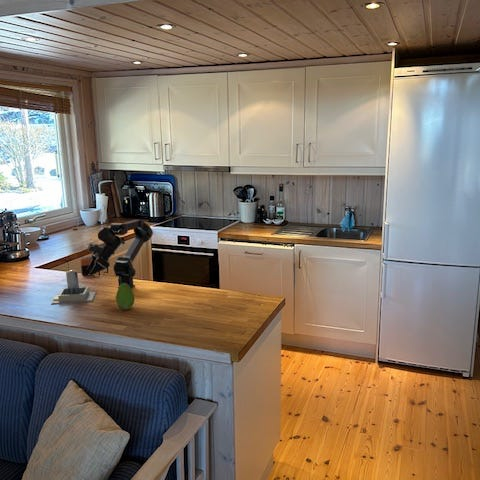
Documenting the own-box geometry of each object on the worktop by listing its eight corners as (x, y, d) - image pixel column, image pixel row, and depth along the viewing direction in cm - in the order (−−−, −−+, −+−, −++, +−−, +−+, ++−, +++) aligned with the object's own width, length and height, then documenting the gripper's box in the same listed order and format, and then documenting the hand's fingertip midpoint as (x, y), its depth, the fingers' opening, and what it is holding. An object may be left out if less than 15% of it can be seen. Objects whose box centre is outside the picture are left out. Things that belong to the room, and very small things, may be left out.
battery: (95, 274, 267) (93, 256, 265) (82, 275, 264) (80, 258, 262) (94, 272, 271) (92, 255, 269) (81, 273, 268) (80, 256, 266)
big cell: (80, 295, 229) (78, 268, 226) (78, 298, 224) (76, 271, 221) (69, 295, 228) (67, 269, 226) (67, 299, 223) (64, 272, 221)
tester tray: (95, 292, 234) (95, 285, 233) (92, 301, 221) (91, 294, 221) (57, 295, 231) (56, 288, 231) (51, 304, 219) (50, 296, 218)
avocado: (125, 313, 205) (123, 286, 203) (112, 310, 209) (110, 283, 207) (139, 307, 212) (137, 281, 209) (126, 304, 216) (124, 279, 213)
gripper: (94, 233, 234) (73, 258, 232) (99, 240, 217) (76, 267, 216) (112, 246, 239) (91, 271, 237) (118, 255, 222) (96, 281, 220)
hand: (88, 272), depth 227 cm, fingers open, 9 cm apart
